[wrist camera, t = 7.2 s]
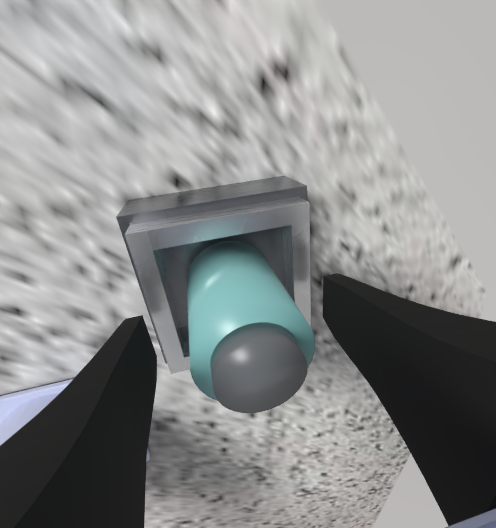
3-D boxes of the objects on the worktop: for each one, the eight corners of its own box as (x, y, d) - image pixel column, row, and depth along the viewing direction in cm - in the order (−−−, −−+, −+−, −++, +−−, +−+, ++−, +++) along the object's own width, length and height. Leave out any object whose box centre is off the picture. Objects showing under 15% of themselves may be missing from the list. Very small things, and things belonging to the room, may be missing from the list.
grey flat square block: (290, 300, 18) (318, 343, 15) (168, 327, 17) (164, 381, 14) (284, 176, 15) (318, 191, 11) (128, 200, 14) (109, 226, 10)
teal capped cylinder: (274, 303, 14) (327, 403, 9) (198, 323, 14) (208, 441, 9) (264, 232, 13) (324, 305, 7) (176, 252, 12) (172, 346, 7)
